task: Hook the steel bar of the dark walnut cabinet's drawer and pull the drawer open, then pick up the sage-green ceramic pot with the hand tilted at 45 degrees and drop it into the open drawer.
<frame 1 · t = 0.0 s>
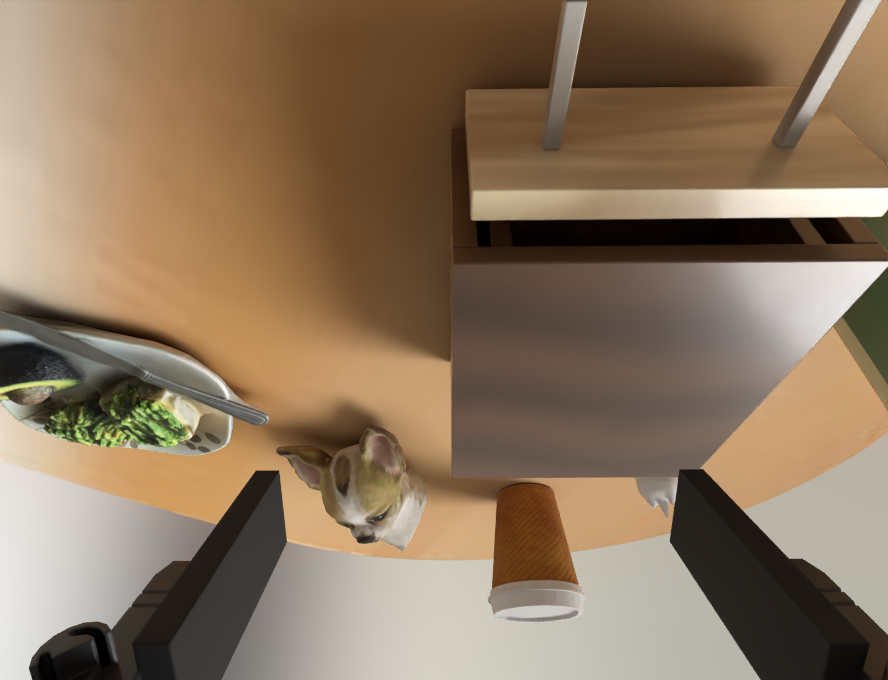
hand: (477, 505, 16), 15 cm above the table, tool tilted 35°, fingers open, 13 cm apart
pot: (873, 244, 27), on the table
white animal figurine: (638, 421, 43), on the table
cabinet: (576, 273, 29), on the table
drawer: (619, 246, 22), point 4 cm above the table, slide at 1.0 cm
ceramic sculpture: (371, 448, 47), on the table
avocado toast plate: (117, 379, 38), on the table
disposable coffee cup: (525, 492, 56), on the table
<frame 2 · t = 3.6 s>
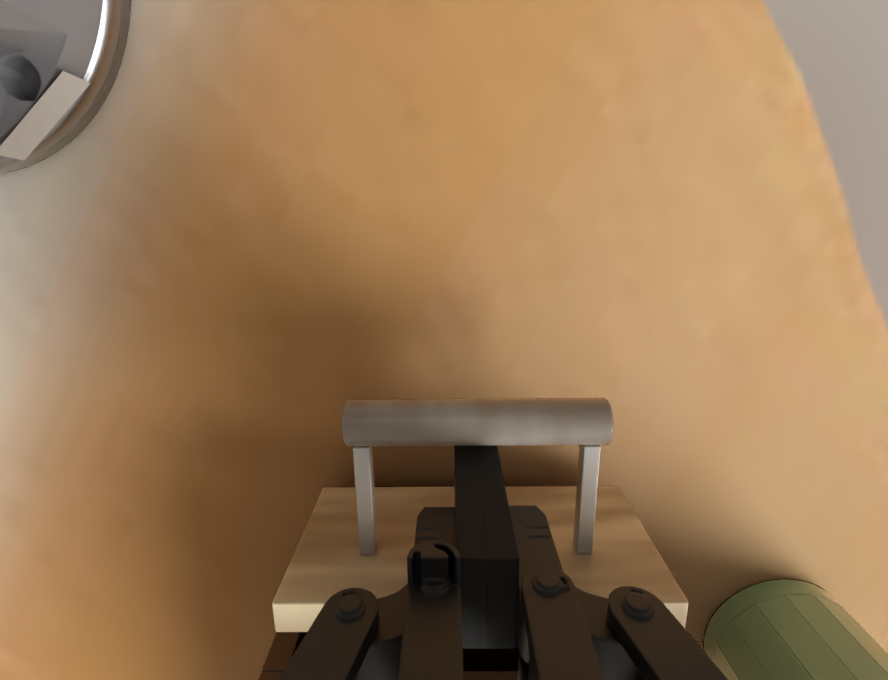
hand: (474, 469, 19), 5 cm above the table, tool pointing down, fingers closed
pot: (772, 635, 26), on the table
cabinet: (468, 666, 27), on the table
drawer: (473, 642, 21), point 4 cm above the table, slide at 1.5 cm
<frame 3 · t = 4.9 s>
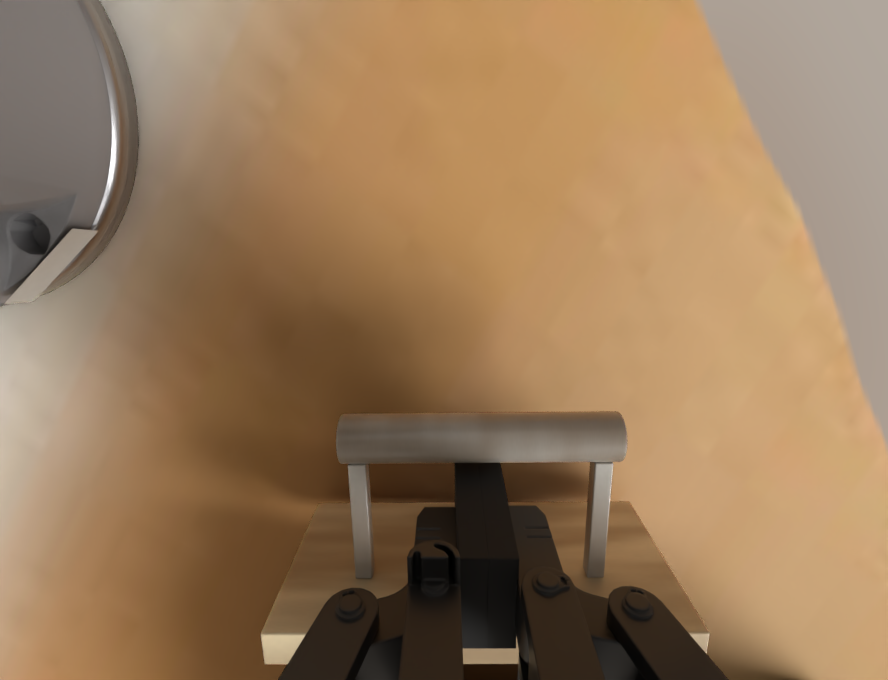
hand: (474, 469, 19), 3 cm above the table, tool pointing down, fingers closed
drawer: (476, 669, 20), point 4 cm above the table, slide at 6.5 cm, touching gripper
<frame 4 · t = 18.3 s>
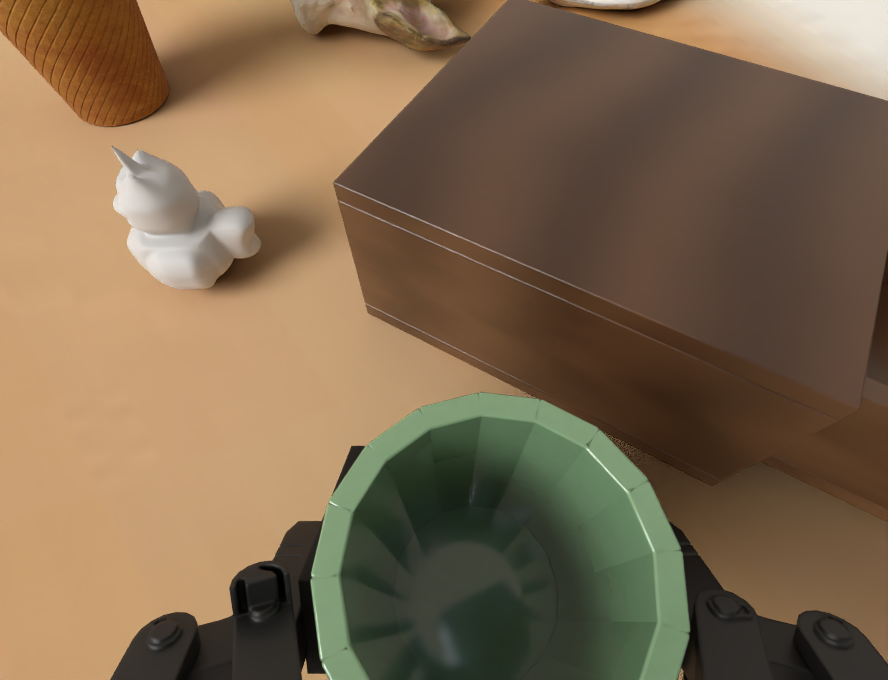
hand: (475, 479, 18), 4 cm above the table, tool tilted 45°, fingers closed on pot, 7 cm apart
pot: (474, 592, 19), on the table, touching gripper
white animal figurine: (216, 268, 27), on the table
cabinet: (582, 281, 26), on the table
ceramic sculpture: (380, 31, 39), on the table
disposable coffee cup: (125, 100, 35), on the table
when the fingers open (10 cm above the table, at t = 26.1 s): pot drops 4 cm, resting on drawer.
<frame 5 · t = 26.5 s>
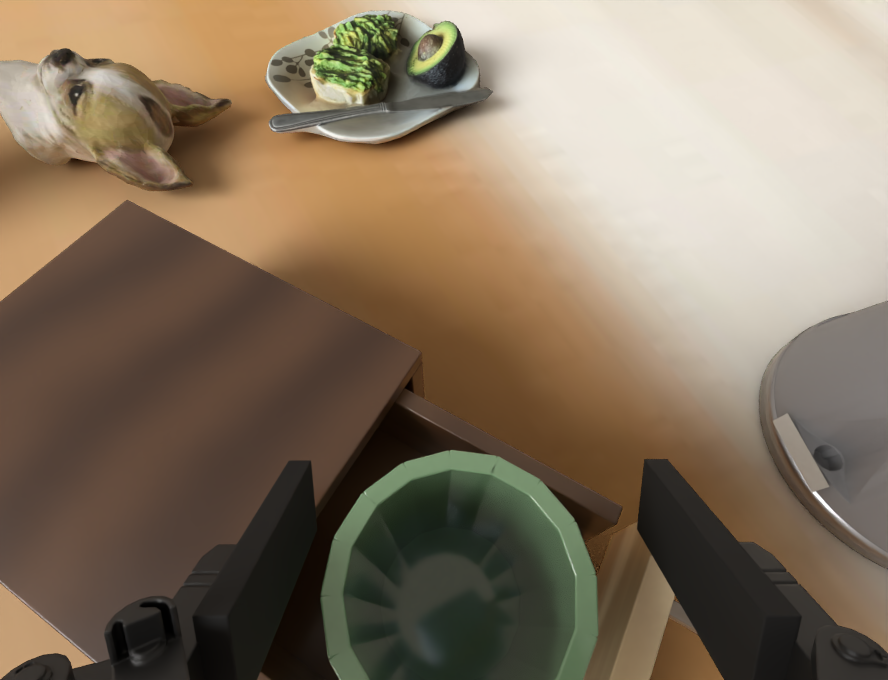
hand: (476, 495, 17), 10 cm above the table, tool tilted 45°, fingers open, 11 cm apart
pot: (450, 601, 23), point 2 cm above the table, touching drawer
cabinet: (222, 456, 28), on the table
drawer: (485, 620, 20), point 4 cm above the table, slide at 11.4 cm, touching pot
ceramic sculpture: (135, 158, 40), on the table
avocado toast plate: (382, 88, 45), on the table
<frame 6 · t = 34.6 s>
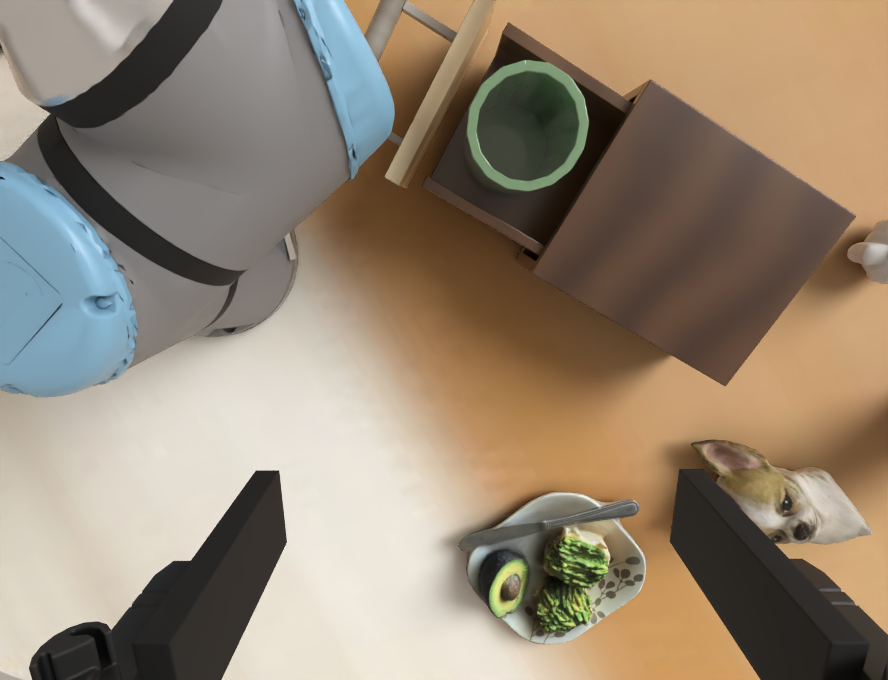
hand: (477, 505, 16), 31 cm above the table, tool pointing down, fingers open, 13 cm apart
pot: (506, 147, 40), point 2 cm above the table, touching drawer
white animal figurine: (867, 249, 44), on the table
cabinet: (644, 237, 44), on the table
drawer: (492, 134, 38), point 4 cm above the table, slide at 11.4 cm, touching pot
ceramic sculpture: (741, 480, 51), on the table
avocado toast plate: (547, 560, 53), on the table
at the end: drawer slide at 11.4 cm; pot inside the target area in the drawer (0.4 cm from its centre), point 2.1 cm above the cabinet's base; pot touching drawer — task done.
